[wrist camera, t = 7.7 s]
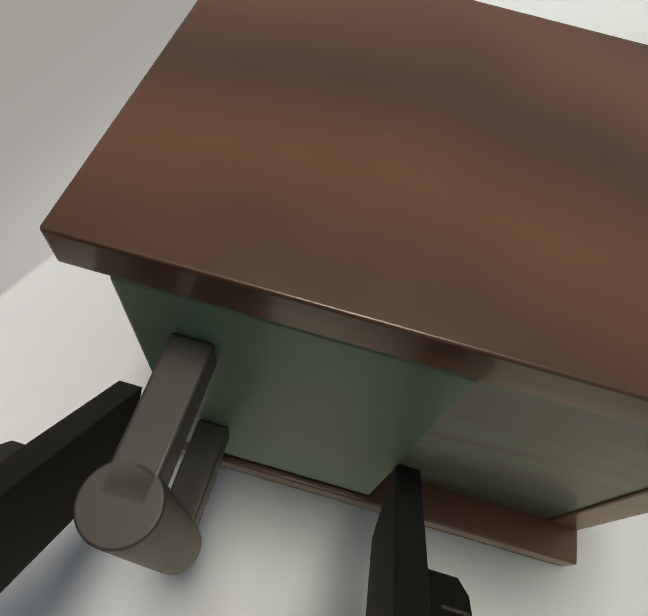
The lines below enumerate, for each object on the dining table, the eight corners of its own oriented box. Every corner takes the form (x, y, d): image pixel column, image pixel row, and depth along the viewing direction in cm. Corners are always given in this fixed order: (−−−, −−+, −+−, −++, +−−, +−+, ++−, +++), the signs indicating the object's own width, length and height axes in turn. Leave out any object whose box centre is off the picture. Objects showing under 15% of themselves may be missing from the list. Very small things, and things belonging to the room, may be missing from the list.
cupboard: (564, 567, 20) (1021, 504, 8) (166, 450, 21) (36, 227, 9) (568, 342, 25) (853, 96, 13) (248, 253, 26) (238, -62, 14)
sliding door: (341, 628, 17) (449, 653, 7) (131, 565, 17) (-27, 510, 8) (372, 479, 20) (483, 354, 10) (188, 425, 20) (122, 252, 10)
